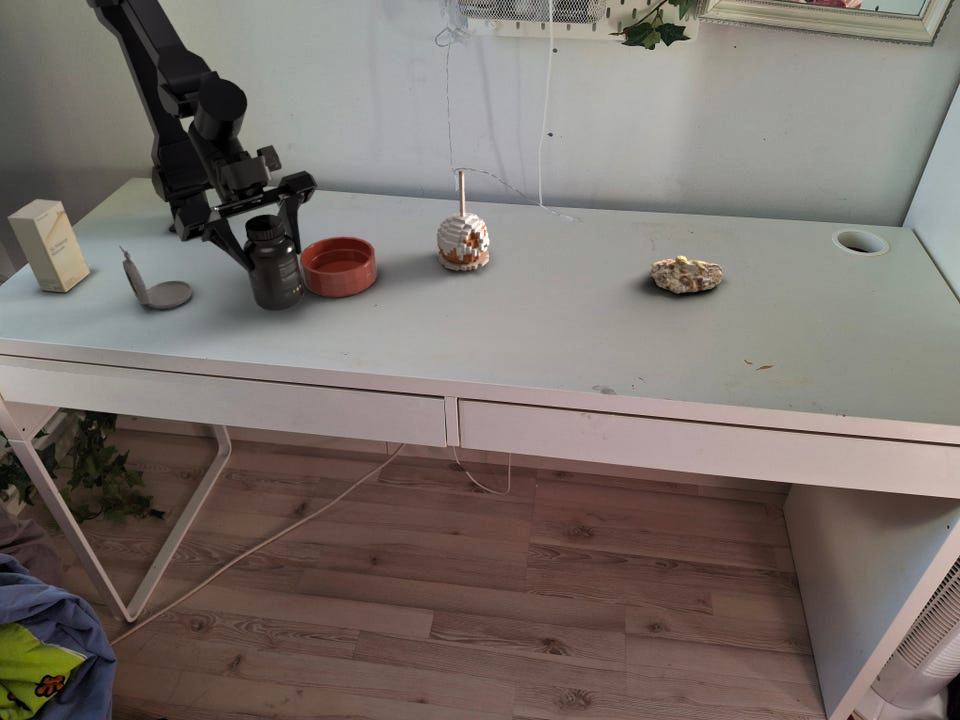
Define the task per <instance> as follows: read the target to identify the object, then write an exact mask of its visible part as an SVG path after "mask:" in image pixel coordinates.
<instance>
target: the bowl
mask: <svg viewBox="0 0 960 720" xmlns="http://www.w3.org/2000/svg"><path fill="white" fill-rule="evenodd" d="M376 259H377V258H376V250H375V248H374V246H373V245H372V244H371V242H369V241H367V240H365V239H362V238H359V237H354V236H334V237H332V236H331V237H327V238H323V239H321V240H318V241H316V242H313V243H311V244H310V245H308V246H306V247H305V248H304V249H303V250H302V252H301V254H300V255H299V266H300V271H301V274H302V275H301V276H302V281H303V283H304V285H305V287H306V289H308V290H309V291H311V292H313V293H314V294H317V295H319V296H322V297H328V298H344V297H349V296H353V295H356V294H359V293H361V292H363V291H365V290H367V289H368V288H370V286H371V285H372V284H373V283H374V282H375V281H376V279H377V277H378V266H377V260H376Z"/></svg>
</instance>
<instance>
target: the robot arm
mask: <svg viewBox="0 0 960 720" xmlns="http://www.w3.org/2000/svg"><path fill="white" fill-rule="evenodd" d="M85 1H86V4H87V5H88V7H89V8H90V9H93V12H94V14H95V17H96V19H97V21H98V22H99V23H100V24H101V25H102V26H103V27H104V28H105V29H107V30H108V32H109V33H111V34H112V35H113V36H114V37H115V38H116V39H117V42H118V45H119V47H120V50H121V52H122V55H123V57H124V60H125V62H126V66H127V68H128V70H129V74H130V76H131V78H132V81H133V83H134V86H135V88H136V91H137V94H138V97H139V99H140V102H141V104H142V106H143V110H144V112H145V115H146V118H147V121H148V123H149V127H150V128H151V131H152V133H153V141H152V147H151V151H150V153H151V154H150V158H151V160H152V163H153V166H152V168H151V184H152V186H153V189H154V192H155V194H156V195H157V196H158V197H159V198H160V199H161V200H162V201H163V202H164V203H168V204H169V207H170V213H171V217H172V219H173V223H172V224H171V225H170V226H169V227H168V231H169V232H171V233H176V234H177V235H178V237H179V239H180V241H181V243H186V242H189V241H192V240H196V239H198V238H200V240H201V242H202V243H205V242H210V243H211V244H213V245H215V246H216V247H217V248H219V249H220V250H222V251H223V252H224V253H226V254H227V255H228V256H229V257H230V258H232V259H233V260H234V261H235V262H236V263H238V265H240V266H241V267H242V268H243V269H244V270H245V271H247V273H248V272H252V270H253V269H252V266H251V264H250V262H249V260H248V258H247V256H246V254H245V253H244V251H243V248H242V246H241V244H240V243H239V241H238V239H237V238H236V236H235V234H234V232H233V231H232V228H231V226H230V223H229V220H228V219H230V218H233V217H236V216H239V215H243V214H246V213H249V212H252V211H256V210H258V209H261V208H265V207H268V206H273V205H275V204H276V205H277V207H278V209H279V210H278V212H277V214H276V216H279V217H280V218H281V219H282V222H283V227H284V229H285V234H287V235H288V236H290V237H291V238H292V240H293V241H294V243H295V247H296V253H297V256H300V255H301V253H302V252H303V250H302V243H301V236H300V235H301V234H300V229H299V228H300V227H299V209H300V207H301V205H304V204H307V203H308V202H310V201H311V199H312V197H313V195H314V193H315V192H316V190H317V188H318V184H317V181H316V179H315V177H314V176H313V175H312V174H311V173H309V172H308V171H307V170H301V171H298V172H295V173H291V174H288V175H285V176H282V177H281V179H280V181H279V184H278V185H277V187H274V188H270V189H268V190H264V188H267V186H268V185H269V181H272V180H273V176H272V172H276V171H279V170H282V162H281V159H280V156H279V154H278V152H277V150H276V148H275V147H274V145H273V144H270V145H267V146H263V147H259V148H257V149H256V156H255V157H252V156H251V154H250V153H249V151H248V150H245V149H244V147H243V146H242V143H241V141H240V139H239V137H238V136H239V134H240V132H241V129H242V127H243V123H244V120H245V116H246V113H247V108H248V98H247V96H246V93H245V91H244V90H243V89H242V88H240V87H239V85H238V84H236V83H235V82H233V81H231V80H229V79H225V78H221V77H220V75H219V73H218V71H217V70H212V69H211V67H210V66H209V64H208V63H207V62H206V60H205V59H204V58H203V57H202V56H201V55H199V54H197V53H194V52H193V51H191V50H189V49H188V48H187V47H186V46H185V44H184V42H183V40H182V39H181V38H180V36H179V34H178V32H177V30H176V29H175V27H174V25H173V24H172V22H171V20H170V18H169V17H168V15H167V13H166V12H165V10H164V8H163V6H162V5H161V4H160V1H159V0H85ZM192 117H193V119H192V120H191V122H190V123H189V125H188V130H187V131H186V130H185V129H184V127H183V124H182V122H181V120H182V119H187V118H192ZM209 190H214V191H215V193H216V194H217V196H218V198H219V200H220V202H221V204H218V205H215V206H210V203H209V200H208V196H207V193H206V191H209Z"/></svg>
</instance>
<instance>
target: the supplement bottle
mask: <svg viewBox="0 0 960 720" xmlns="http://www.w3.org/2000/svg"><path fill="white" fill-rule="evenodd" d="M244 228H245V232H246V235H245V236H246V241H245V243H244V245H243V248H242V249H243V251H244V253H245V254H246V256H247V258H248V260H249V262H250V264H251V266H252V269H253V270H252V272H248V271H247V275H248V279H249V283H250V287H251V291H252V295H253V298H254V299H253V300H254V302H255V303H256V305H257V306H258V307H259V308H261V309H263V310H265V311H268V312H282V311H286V310H290V309H292V308H294V307H296V306H297V305H298V304H300V302H301V301H302V300H303V298H304V296H305V290H304V285H303V278H302V275H301V274H302V272H301V267H300V262H299V259H298V255H297V253H296V247H295V243H294V241H293V240H292V238H291V237H290V236H288V235H287V234H286V233H285V229H284V227H283V222H282V219H281V218H280V217H279V216H277V214H276V215H275V214H271V213H270V214H268V213H267V214H259V215H256V216H252V217H250V218H249V219H247V221H246V222H245V225H244Z"/></svg>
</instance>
